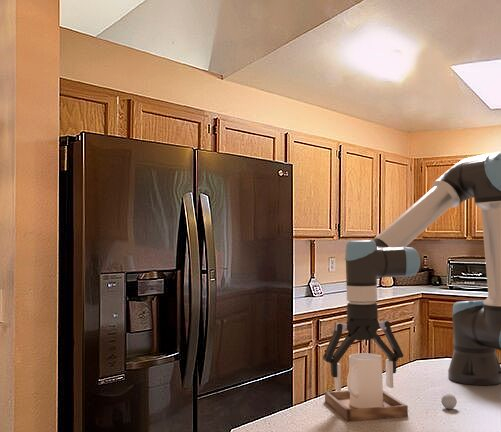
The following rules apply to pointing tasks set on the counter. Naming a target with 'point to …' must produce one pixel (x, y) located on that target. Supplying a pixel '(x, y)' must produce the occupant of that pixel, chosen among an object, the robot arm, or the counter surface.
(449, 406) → the ball
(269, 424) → the counter surface
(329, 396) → the tray
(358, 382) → the mug
